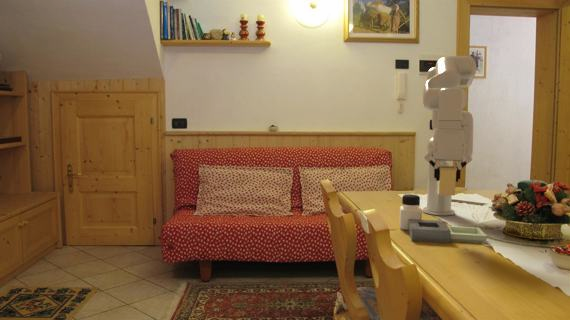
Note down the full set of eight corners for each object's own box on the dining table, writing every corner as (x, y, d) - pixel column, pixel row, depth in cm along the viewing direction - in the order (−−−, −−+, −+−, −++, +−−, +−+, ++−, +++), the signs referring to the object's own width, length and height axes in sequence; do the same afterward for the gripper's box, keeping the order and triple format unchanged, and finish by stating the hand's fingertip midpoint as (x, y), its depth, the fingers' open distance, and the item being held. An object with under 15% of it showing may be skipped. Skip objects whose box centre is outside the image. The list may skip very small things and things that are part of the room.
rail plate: (407, 230, 167) (408, 219, 167) (443, 232, 165) (443, 220, 165) (411, 240, 153) (412, 228, 153) (450, 243, 151) (450, 230, 151)
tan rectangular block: (436, 191, 161) (437, 165, 160) (453, 192, 160) (454, 166, 158) (438, 194, 155) (439, 167, 154) (455, 195, 154) (457, 168, 153)
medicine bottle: (420, 230, 167) (422, 197, 165) (400, 229, 168) (401, 196, 167) (419, 226, 174) (420, 193, 172) (399, 224, 175) (400, 192, 174)
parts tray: (445, 232, 165) (445, 225, 164) (478, 234, 163) (478, 227, 162) (450, 241, 154) (450, 233, 154) (486, 243, 152) (486, 235, 152)
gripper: (475, 126, 157) (472, 180, 159) (421, 125, 160) (419, 178, 162) (479, 127, 150) (476, 183, 152) (423, 125, 153) (420, 181, 155)
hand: (446, 180), depth 157 cm, fingers closed on tan rectangular block, 5 cm apart
